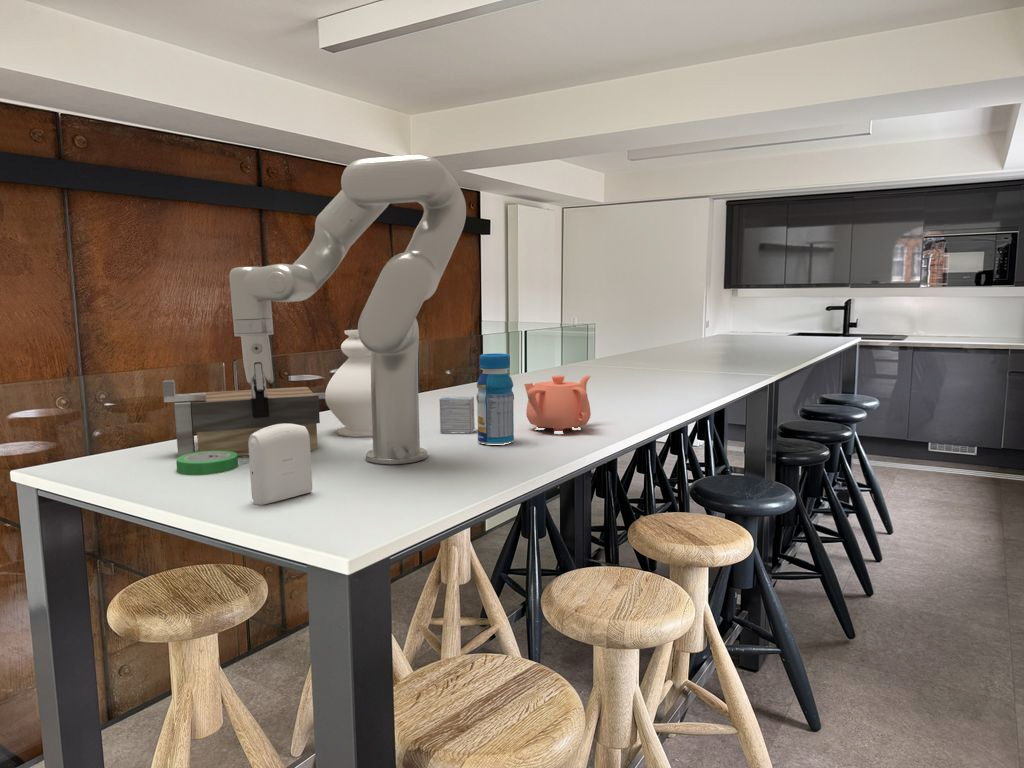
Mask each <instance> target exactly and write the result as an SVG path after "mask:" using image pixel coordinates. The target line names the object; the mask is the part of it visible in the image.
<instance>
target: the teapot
mask: <svg viewBox="0 0 1024 768" xmlns="http://www.w3.org/2000/svg"><path fill="white" fill-rule="evenodd" d="M590 378H591V375H586V376H583V377H582V378H581V380H580V381H579V382H574V381H564V380H565V376H564V375H552V376H551V379H552V380H551V381H550V380H549V381H542V382H540V381H539V382H535V383H533V382H530V383H524V387H525V392H526V394H527V399H528V400H527V405H526V411H525V413H526V418H527V421H528V422H529V424H531V425H533V426H535V428H536V427H538V428H545V427H546V428H549V429H550V428H551V429H553V431H563V430H564V431H565V429H571V428H572V427H574V428H578V427H581V426H586V425H587V424H588V422H589V420H590V419H591V406H590V401H589V399H588V398H589V397H588V393H587V383H588V381H589V379H590Z"/></svg>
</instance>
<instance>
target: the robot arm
mask: <svg viewBox="0 0 1024 768" xmlns="http://www.w3.org/2000/svg"><path fill="white" fill-rule="evenodd" d="M340 184H341V186H340V187H341V190H340V191H339V192H338V193H337V195H335V196H334V198H333V199H331V200H330V202H329V203H328V204H327V205H326V206H325V207H324V209H322V210H321V212H320V213H319V214H318V215H317V216H316V219H315V222H314V235H313V237H312V240H311V241H310V243H309V244H308V246H307V247H306V249H305V250H304V252H303V253H301V254H300V256H299V257H298V258H297V259H296V260H295V261H294V262H293V263H292V264H290V263H289V264H288V263H277V264H271V265H270V264H269V265H266V266H238V267H234V268H231V270H230V272H229V277H228V278H229V289H230V299H231V311H232V320H233V333H234V337H240V341H241V351H242V360H243V367H244V368H243V369H244V373H245V377H246V381H247V383H248V384H249V385H250V387H251V388H250V390H251V391H252V398H251V403H252V415H253V418H264V417H269V404H268V397H267V391H266V389H267V382H268V383H269V384H273V383H274V381H275V380H274V379H275V378H274V373H273V371H274V370H273V361H272V351H271V344H270V337H269V336H271V335H274V324H273V311H272V302H279V303H291V302H302V301H305V300H307V299H309V298H311V297H313V295H314V294H316V293H317V291H318V290H319V289H320V288H321V287H322V286H323V285H324V284H325V283H326V282H327V280H329V278H330V277H331V276H332V275H333V274H334V273H335V271H336V270H337V269H338V267H339V266H340V264H341V263H342V261H343V260H344V258H345V257H346V255H347V254H348V252H349V250H350V248H351V246H353V245H354V243H355V242H356V241H357V240H359V238H360V237H361V236H362V235H363V234H364V232H365V231H366V230H367V229H368V228H369V227H370V226H371V225H372V224H373V222H375V221H376V220H377V218H378V217H379V216H380V215H381V214H382V213H383V212H384V211H385V210H386V209H387V208H388V207H389V205H391V204H404V203H418V204H420V205H421V206H422V208H423V214H422V217H421V219H420V221H419V223H418V225H416V228H415V229H414V231H413V234H412V237H411V239H410V242H409V243H408V245H407V247H406V249H405V250H404V252H401V253H398V254H396V255H393V256H392V257H391V258H390V259H389V260H388V261H386V263H385V265H384V266H383V268H382V270H381V272H380V273H379V276H378V277H377V279H376V282H375V284H374V286H373V288H372V290H371V292H370V295H369V296H368V299H367V301H366V302H365V305H364V307H363V309H362V311H361V314H360V316H359V319H358V321H357V322H358V324H357V330H358V335H359V338H360V340H361V342H362V344H363V345H364V346H365V347H366V348H367V349H368V350H370V351H371V404H372V433H373V436H372V449H371V450H368V451H367V452H366V453H365V460H366V461H367V462H370V463H373V464H379V465H399V464H409V463H416V462H419V461H420V462H421V461H423V460H425V459H426V458H428V456H429V455H428V450H427V449H426V448H423V447H421V444H420V443H421V440H420V407H419V406H420V403H419V400H420V399H419V398H420V397H419V347H420V346H419V345H420V343H419V342H420V329H419V323H418V320H417V315H418V314H419V312H420V309H421V308H422V305H423V304H424V302H425V301H427V300H429V299H430V298H431V297H432V296H433V295H434V294H435V292H436V291H437V289H438V286H439V283H440V281H441V279H442V276H443V274H444V272H445V271H446V269H447V266H448V263H449V261H450V260H451V257H452V256H453V252H454V251H455V248H456V246H457V243H458V241H459V239H460V237H461V236H462V233H463V230H464V227H465V223H466V219H467V205H466V204H467V203H466V199H465V196H464V194H463V190H461V187H460V185H459V184H458V182H457V181H456V179H455V178H454V176H453V175H452V174H451V172H450V171H449V170H448V169H447V168H446V167H445V166H444V165H443V164H442V162H440V160H438V159H437V158H435V157H433V156H430V155H426V154H409V155H395V156H381V157H365V158H360V159H359V158H358V159H357V160H354V161H352V162H351V163H349V164H348V165H347V166H346V167H345V168H344V170H343V172H342V175H341V179H340Z"/></svg>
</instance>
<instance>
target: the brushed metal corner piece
mask: <svg viewBox="0 0 1024 768" xmlns="http://www.w3.org/2000/svg"><path fill="white" fill-rule="evenodd" d="M175 383H176V382H175V379H167V380H163V381H162V390H163V403H175V402H180V401H192V402H194V401H197V400H206V393H204V392H195V393H177V394H176V384H175Z"/></svg>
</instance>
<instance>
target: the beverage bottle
mask: <svg viewBox="0 0 1024 768" xmlns="http://www.w3.org/2000/svg"><path fill="white" fill-rule="evenodd" d="M510 367H511V357H510V354H508V353H501V352H500V353H498V352H497V353H482V354H480V355H479V369H480V370H481V371H482V372H481V373H480V374H479V377H478V379H477V383H476V388H477V392H476V397H475V398H476V405H477V406H476V407H477V409H476V411H477V413H476V414H477V442H478V443H479V442H480V443H484V444H504V443H509V442H512V441H513V442H514V440H515V435H514V433H515V432H514V430H515V429H514V425H515V424H514V422H515V421H514V401H515V394H514V392H513V387H514V382H513V379H512V376H511V375H510V374H509V372H508V370H510ZM513 442H512V443H513ZM480 443H479V444H480Z"/></svg>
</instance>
